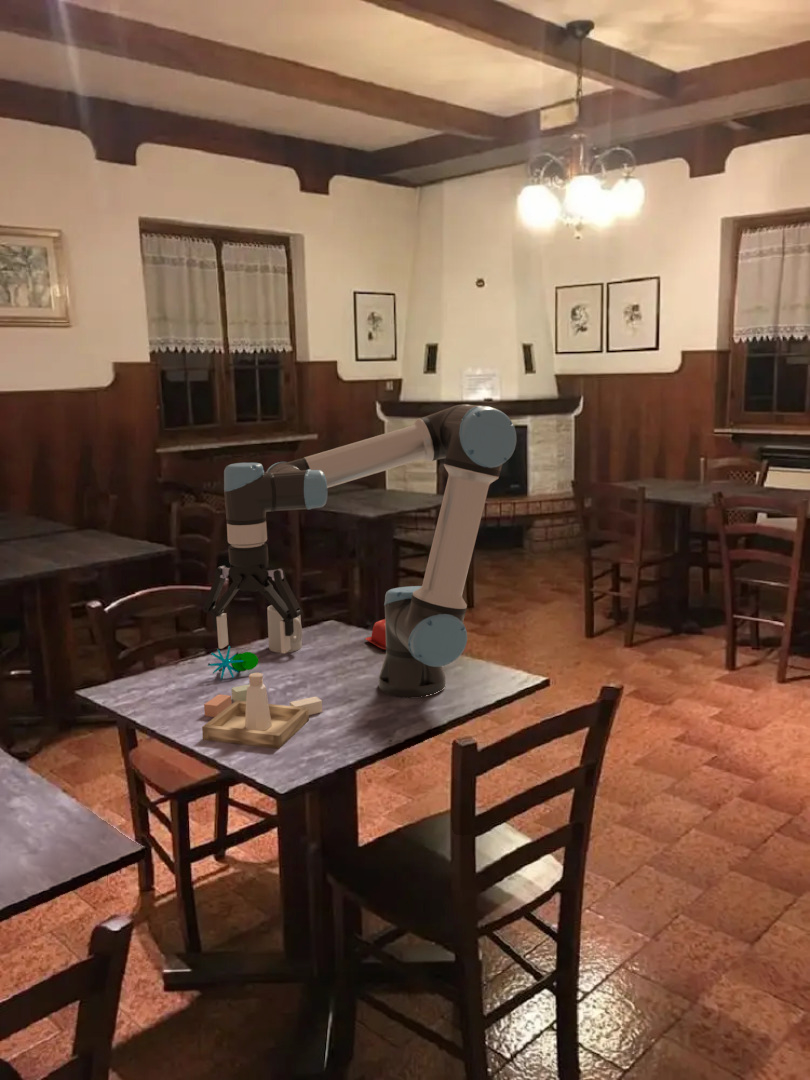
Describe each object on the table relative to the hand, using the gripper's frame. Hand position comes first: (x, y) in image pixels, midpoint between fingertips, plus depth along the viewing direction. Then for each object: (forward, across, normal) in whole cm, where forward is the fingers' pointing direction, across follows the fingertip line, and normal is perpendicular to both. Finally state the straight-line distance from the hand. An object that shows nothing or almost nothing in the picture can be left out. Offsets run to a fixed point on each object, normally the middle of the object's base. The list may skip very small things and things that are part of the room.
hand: (254, 649), depth 178 cm
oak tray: (+17, 0, 0) cm, 17 cm away
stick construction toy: (+18, +20, -27) cm, 38 cm away
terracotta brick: (+17, +13, -7) cm, 23 cm away
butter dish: (+18, -9, -61) cm, 64 cm away
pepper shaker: (+16, 0, 0) cm, 17 cm away
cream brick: (+18, -6, -11) cm, 21 cm away
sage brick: (+18, +10, -15) cm, 25 cm away
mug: (+18, +16, -50) cm, 55 cm away
